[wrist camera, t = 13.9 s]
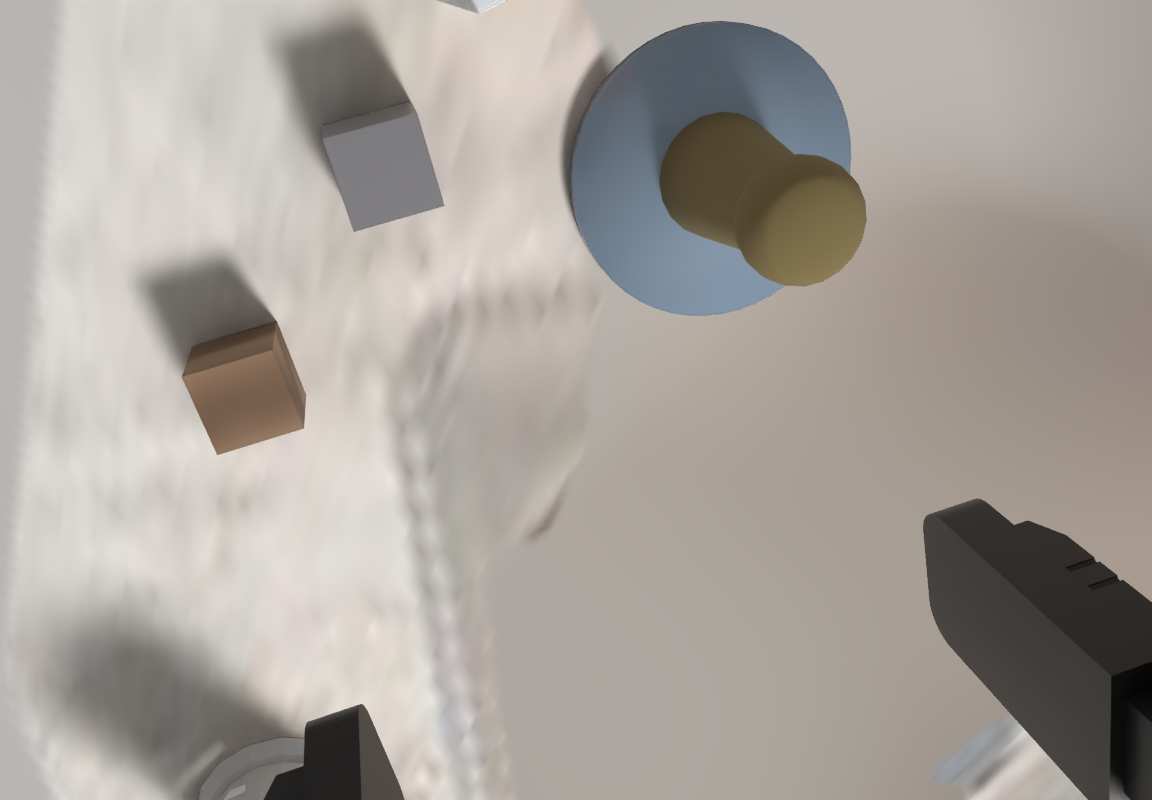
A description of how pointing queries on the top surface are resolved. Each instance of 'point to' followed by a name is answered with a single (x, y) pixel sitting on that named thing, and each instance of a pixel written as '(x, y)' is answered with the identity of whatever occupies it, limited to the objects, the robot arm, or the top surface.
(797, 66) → the slate plate
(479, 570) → the top surface
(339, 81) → the top surface
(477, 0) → the skincare box
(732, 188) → the cork
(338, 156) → the graphite block
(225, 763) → the french press
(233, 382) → the walnut block
